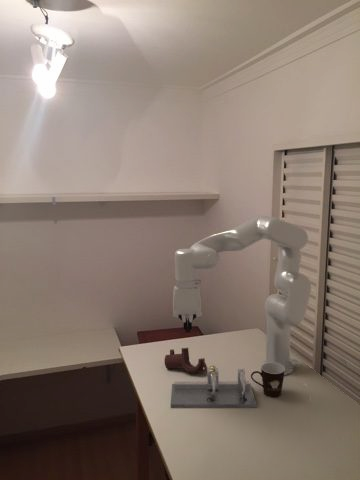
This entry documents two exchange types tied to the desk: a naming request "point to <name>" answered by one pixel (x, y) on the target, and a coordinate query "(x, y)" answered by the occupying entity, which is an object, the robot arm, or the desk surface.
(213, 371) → the sliding leg
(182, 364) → the bracket
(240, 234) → the robot arm
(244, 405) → the bolt plate and beam
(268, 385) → the coffee mug
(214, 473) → the desk surface
